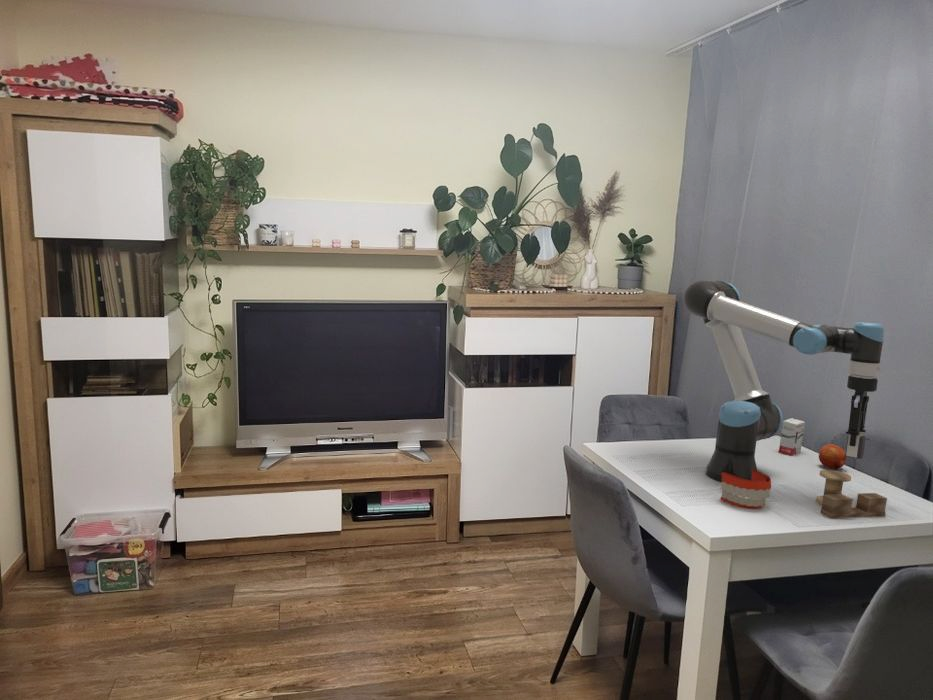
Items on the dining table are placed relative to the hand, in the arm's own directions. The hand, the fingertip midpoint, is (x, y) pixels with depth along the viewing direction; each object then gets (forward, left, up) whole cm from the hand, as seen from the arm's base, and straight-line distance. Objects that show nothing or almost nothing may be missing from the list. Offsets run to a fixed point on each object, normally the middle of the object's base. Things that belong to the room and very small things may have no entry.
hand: (853, 454), depth 208 cm
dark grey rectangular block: (0, 0, 0) cm, 1 cm away
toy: (-35, -2, -13) cm, 38 cm away
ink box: (+17, +45, -13) cm, 50 cm away
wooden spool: (-9, -4, -13) cm, 17 cm away
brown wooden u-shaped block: (-9, -12, -13) cm, 20 cm away
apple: (+19, +27, -13) cm, 35 cm away
